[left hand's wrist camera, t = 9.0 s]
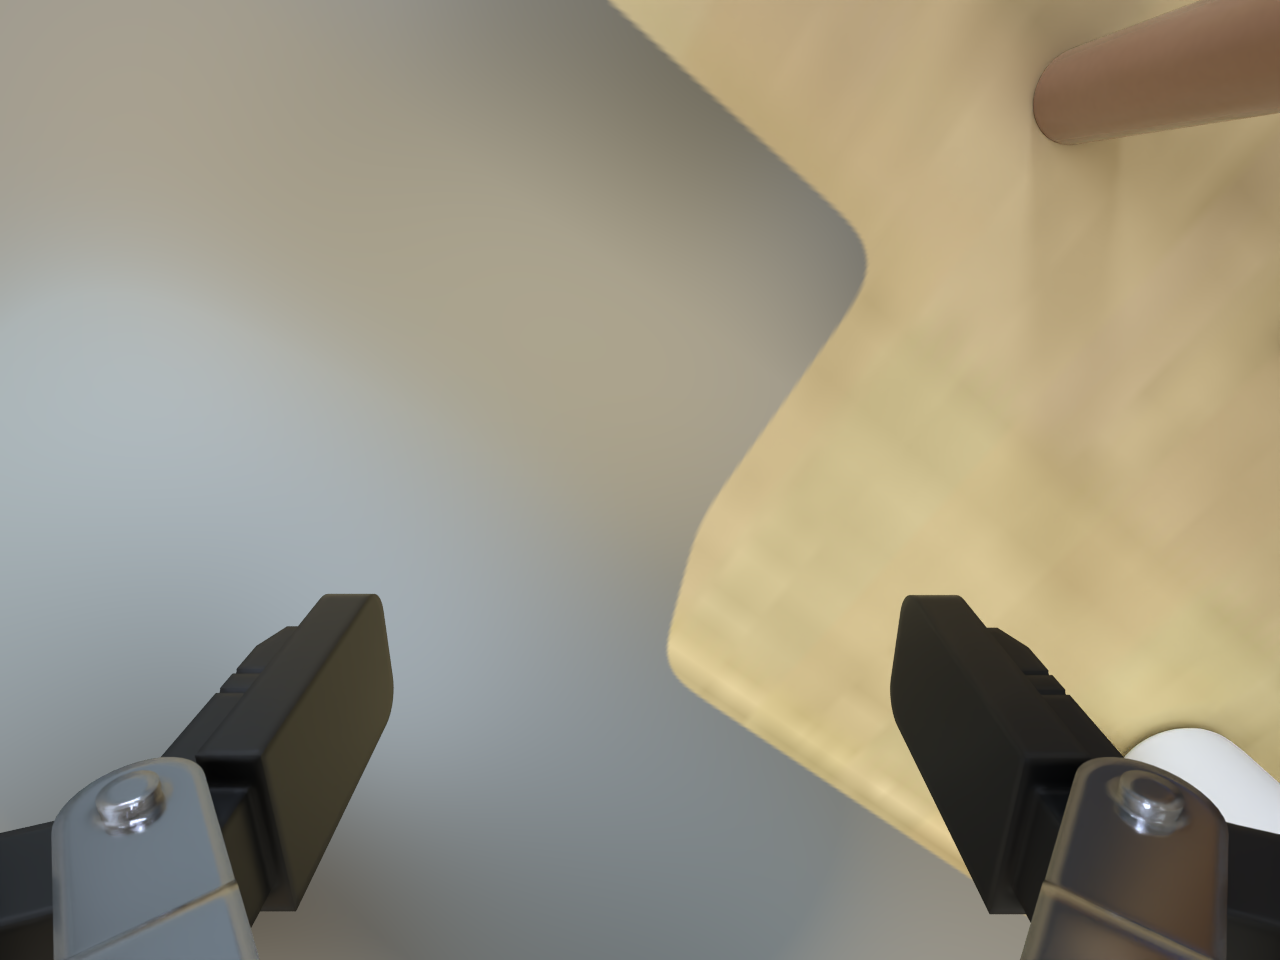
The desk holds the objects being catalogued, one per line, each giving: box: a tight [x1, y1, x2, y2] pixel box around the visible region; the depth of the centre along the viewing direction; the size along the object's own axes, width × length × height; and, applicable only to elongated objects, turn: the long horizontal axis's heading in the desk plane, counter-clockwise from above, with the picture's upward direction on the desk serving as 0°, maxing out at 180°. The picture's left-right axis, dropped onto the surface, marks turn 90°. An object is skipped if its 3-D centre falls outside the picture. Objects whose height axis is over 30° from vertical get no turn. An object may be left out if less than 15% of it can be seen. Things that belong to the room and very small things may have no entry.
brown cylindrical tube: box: [1033, 0, 1280, 145], centre depth 26 cm, size 4×4×19 cm
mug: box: [1124, 728, 1280, 834], centre depth 43 cm, size 12×8×10 cm
